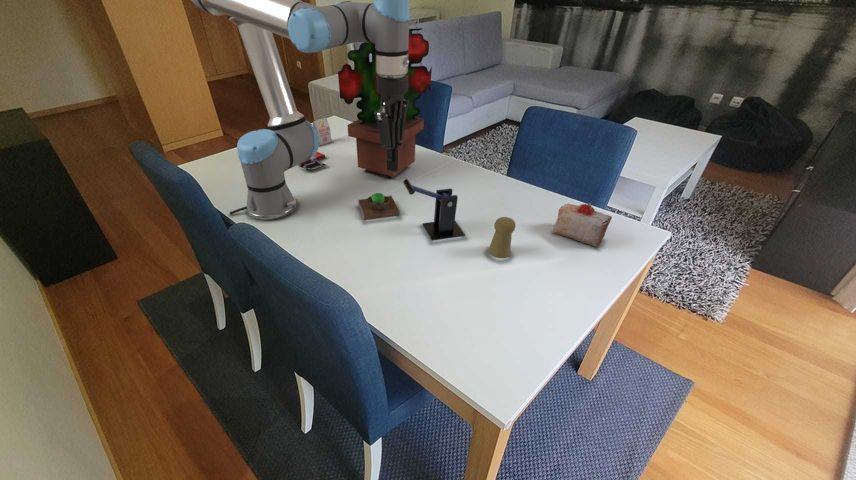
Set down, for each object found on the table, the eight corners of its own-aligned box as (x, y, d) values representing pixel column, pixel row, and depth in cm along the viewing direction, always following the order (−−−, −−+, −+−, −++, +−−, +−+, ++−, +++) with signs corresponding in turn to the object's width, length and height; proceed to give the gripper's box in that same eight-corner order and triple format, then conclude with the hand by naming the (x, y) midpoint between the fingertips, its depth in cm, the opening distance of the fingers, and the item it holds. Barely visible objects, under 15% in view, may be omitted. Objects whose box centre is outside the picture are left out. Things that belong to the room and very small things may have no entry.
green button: (373, 204, 118) (372, 199, 117) (370, 198, 121) (370, 193, 120) (385, 203, 118) (385, 198, 117) (382, 197, 121) (382, 192, 120)
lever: (407, 195, 99) (411, 186, 98) (401, 184, 103) (405, 176, 102) (452, 209, 105) (456, 201, 104) (444, 199, 109) (448, 191, 108)
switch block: (364, 222, 118) (363, 210, 115) (358, 207, 125) (357, 194, 122) (399, 218, 119) (399, 205, 116) (391, 203, 127) (391, 190, 124)
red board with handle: (303, 174, 143) (336, 163, 151) (302, 167, 141) (335, 156, 149) (264, 152, 160) (295, 144, 168) (262, 146, 158) (294, 137, 166)
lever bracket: (431, 243, 109) (434, 203, 101) (422, 226, 116) (424, 187, 107) (464, 238, 111) (470, 198, 102) (453, 222, 117) (458, 183, 109)
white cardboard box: (313, 144, 167) (310, 120, 161) (326, 140, 170) (324, 116, 164) (318, 146, 165) (315, 122, 158) (331, 142, 168) (329, 118, 162)
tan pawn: (505, 264, 101) (514, 228, 94) (483, 256, 104) (490, 221, 97) (512, 252, 105) (521, 217, 98) (491, 245, 108) (498, 211, 101)
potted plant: (425, 165, 149) (434, 27, 120) (396, 187, 135) (397, 37, 106) (378, 153, 158) (375, 23, 129) (346, 173, 144) (334, 31, 115)
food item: (548, 233, 112) (557, 203, 106) (558, 222, 117) (567, 193, 110) (596, 250, 106) (609, 219, 99) (605, 238, 110) (618, 207, 104)
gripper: (391, 82, 84) (391, 182, 100) (419, 70, 93) (415, 164, 108) (363, 78, 87) (367, 175, 103) (392, 67, 96) (393, 158, 111)
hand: (392, 169), depth 105 cm, fingers closed
